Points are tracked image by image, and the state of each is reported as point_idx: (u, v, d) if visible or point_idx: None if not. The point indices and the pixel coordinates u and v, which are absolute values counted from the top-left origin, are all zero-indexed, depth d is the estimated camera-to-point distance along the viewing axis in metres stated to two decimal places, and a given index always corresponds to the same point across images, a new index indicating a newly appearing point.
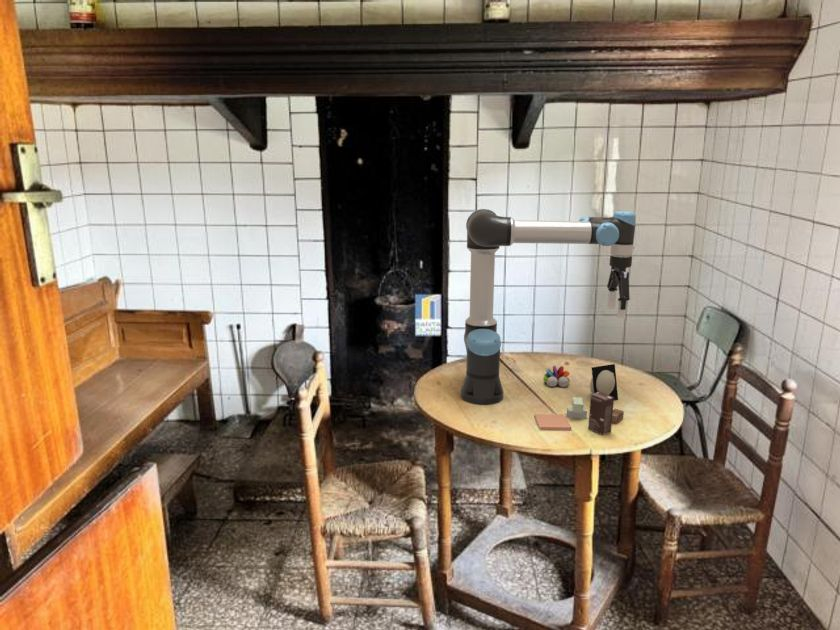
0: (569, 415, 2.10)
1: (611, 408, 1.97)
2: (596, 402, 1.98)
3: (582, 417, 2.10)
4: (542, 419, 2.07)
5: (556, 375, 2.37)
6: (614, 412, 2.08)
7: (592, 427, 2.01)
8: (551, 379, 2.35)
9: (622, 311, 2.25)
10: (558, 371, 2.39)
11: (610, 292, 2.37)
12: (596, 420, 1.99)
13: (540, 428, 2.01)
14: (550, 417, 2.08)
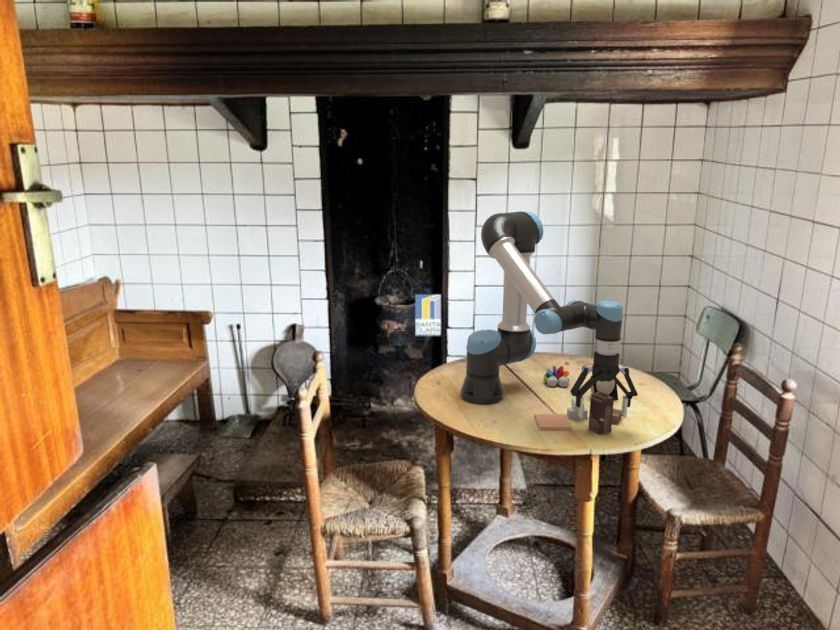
0: (570, 415, 2.09)
1: (611, 408, 1.97)
2: (596, 402, 1.98)
3: (583, 417, 2.10)
4: (542, 419, 2.07)
5: (556, 375, 2.37)
6: (615, 412, 2.08)
7: (592, 427, 2.01)
8: (551, 379, 2.36)
9: (579, 409, 1.99)
10: (558, 371, 2.39)
11: (623, 397, 1.99)
12: (596, 420, 1.99)
13: (540, 428, 2.01)
14: (550, 417, 2.08)
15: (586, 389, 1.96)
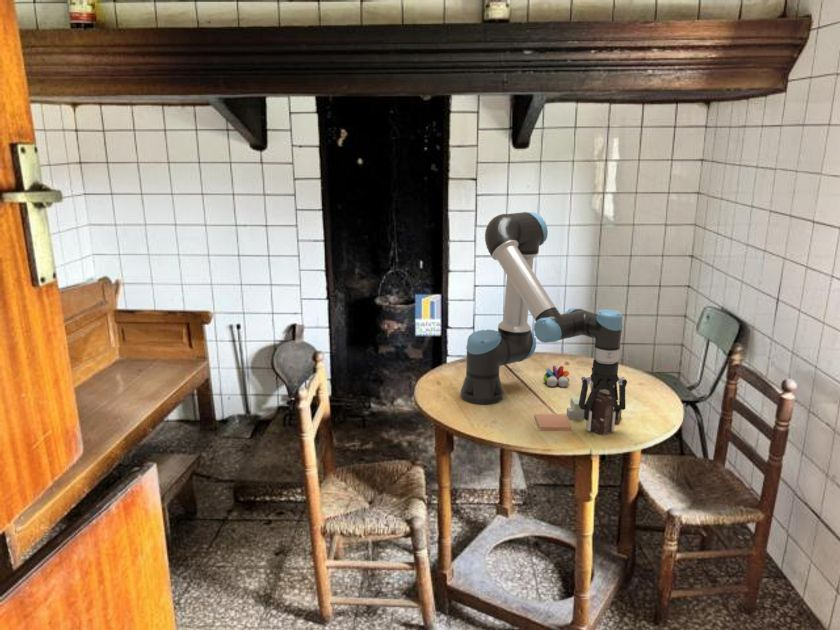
0: (570, 415, 2.09)
1: (611, 408, 1.97)
2: (596, 402, 1.98)
3: (583, 417, 2.10)
4: (542, 419, 2.07)
5: (556, 375, 2.37)
6: None
7: (592, 427, 2.01)
8: (551, 379, 2.36)
9: (587, 422, 2.00)
10: (558, 371, 2.39)
11: None
12: (596, 420, 1.99)
13: (540, 428, 2.01)
14: (550, 417, 2.08)
15: (592, 401, 1.97)
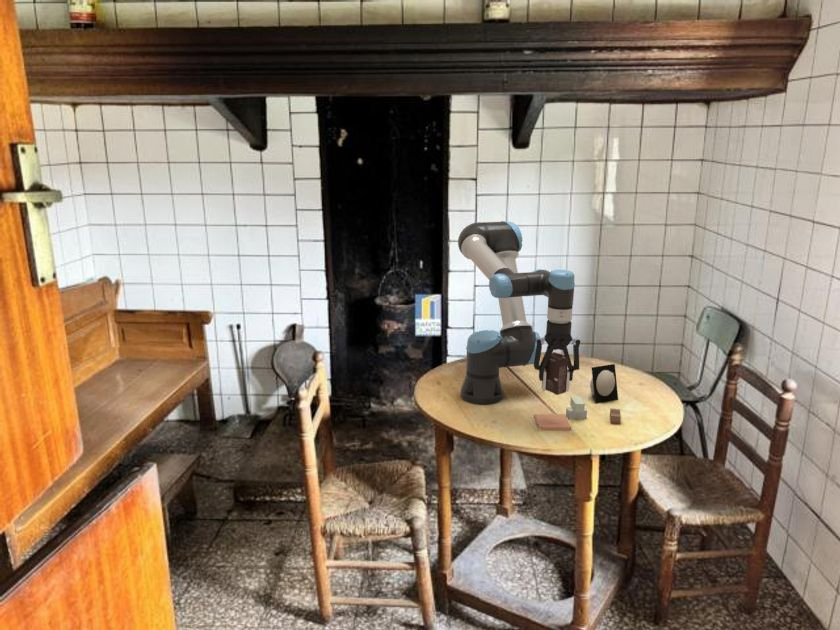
0: (569, 415, 2.09)
1: (565, 368, 1.99)
2: (550, 362, 2.00)
3: (582, 417, 2.10)
4: (542, 419, 2.07)
5: None
6: (615, 413, 2.08)
7: (547, 388, 2.03)
8: None
9: (542, 382, 2.02)
10: None
11: None
12: (550, 380, 2.01)
13: (540, 428, 2.01)
14: (550, 417, 2.08)
15: (546, 361, 1.99)
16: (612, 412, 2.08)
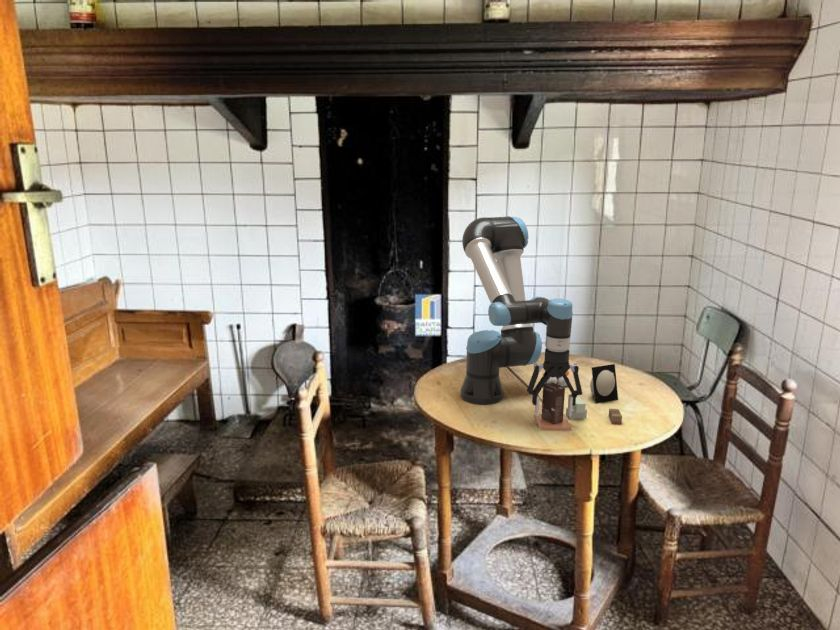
0: None
1: (562, 398, 2.02)
2: (548, 392, 2.02)
3: (582, 416, 2.10)
4: (542, 419, 2.07)
5: None
6: (615, 413, 2.08)
7: (544, 417, 2.06)
8: (551, 379, 2.36)
9: (535, 407, 2.05)
10: None
11: (569, 395, 2.04)
12: (547, 410, 2.04)
13: (540, 428, 2.01)
14: None
15: (540, 387, 2.02)
16: (612, 412, 2.08)
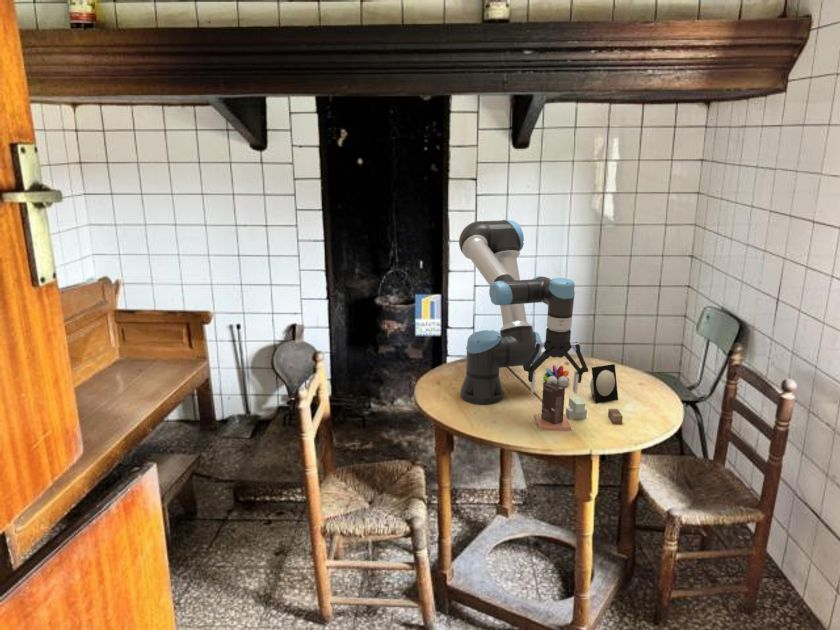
0: (570, 415, 2.09)
1: (562, 398, 2.02)
2: (548, 392, 2.02)
3: (582, 416, 2.10)
4: (542, 419, 2.07)
5: (556, 375, 2.37)
6: (615, 413, 2.08)
7: (544, 417, 2.06)
8: (551, 379, 2.36)
9: (531, 383, 2.03)
10: (558, 371, 2.39)
11: (575, 373, 2.03)
12: (547, 410, 2.04)
13: (540, 428, 2.01)
14: None
15: (538, 364, 2.00)
16: (612, 412, 2.08)
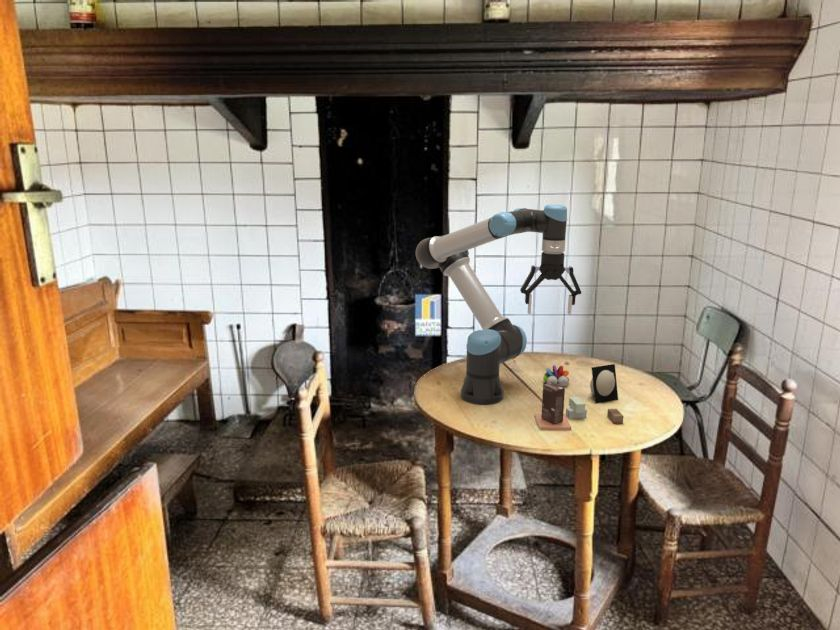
0: (570, 415, 2.09)
1: (562, 398, 2.02)
2: (548, 392, 2.02)
3: (582, 416, 2.10)
4: (542, 419, 2.07)
5: (556, 374, 2.37)
6: (616, 413, 2.08)
7: (544, 417, 2.06)
8: (551, 378, 2.36)
9: (528, 306, 2.17)
10: (558, 370, 2.39)
11: (569, 295, 2.17)
12: (547, 410, 2.04)
13: (540, 428, 2.01)
14: None
15: (534, 287, 2.14)
16: (613, 412, 2.08)
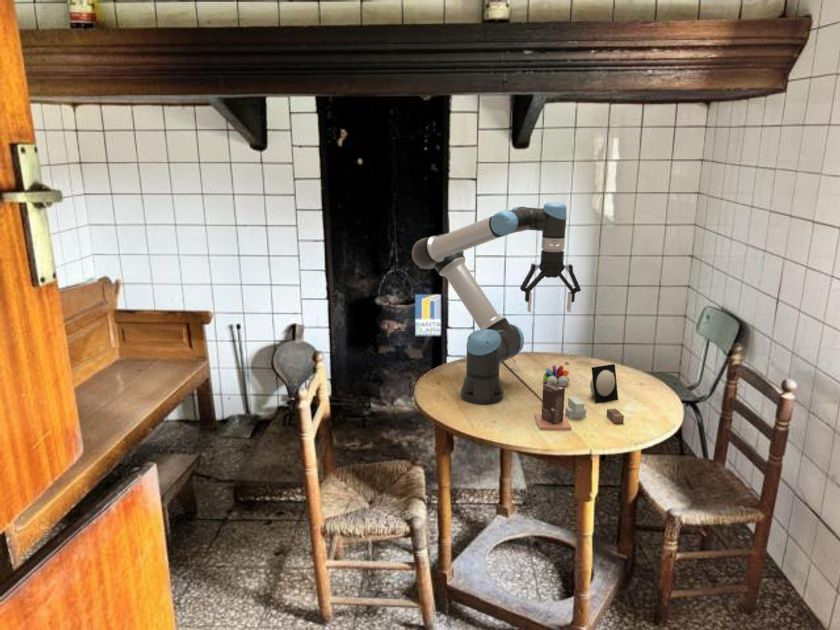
0: (569, 415, 2.10)
1: (562, 398, 2.02)
2: (548, 392, 2.02)
3: (582, 416, 2.10)
4: (542, 419, 2.07)
5: (556, 374, 2.37)
6: (616, 413, 2.08)
7: (544, 417, 2.06)
8: (551, 378, 2.36)
9: (528, 303, 2.18)
10: (558, 370, 2.39)
11: (568, 293, 2.18)
12: (547, 410, 2.04)
13: (540, 428, 2.01)
14: None
15: (534, 284, 2.15)
16: (613, 412, 2.08)
